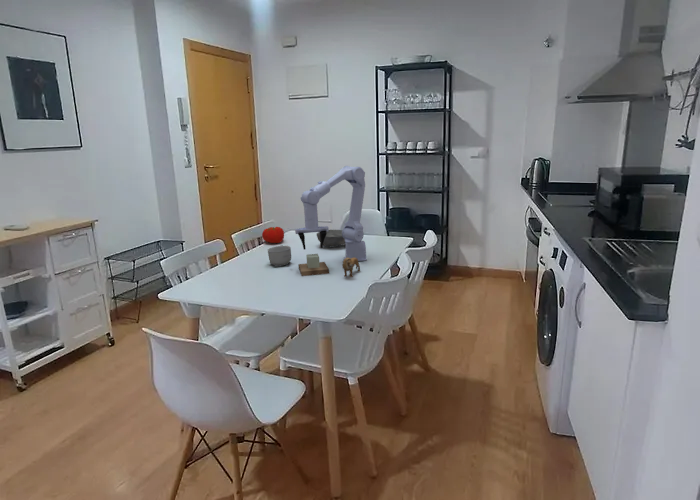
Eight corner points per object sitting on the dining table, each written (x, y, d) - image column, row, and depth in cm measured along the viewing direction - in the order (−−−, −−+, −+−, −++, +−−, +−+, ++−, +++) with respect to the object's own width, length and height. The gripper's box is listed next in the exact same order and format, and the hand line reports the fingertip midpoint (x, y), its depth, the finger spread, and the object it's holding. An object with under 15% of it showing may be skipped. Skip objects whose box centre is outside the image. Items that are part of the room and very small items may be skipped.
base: (324, 265, 211) (324, 261, 211) (329, 273, 200) (329, 269, 200) (298, 268, 209) (298, 264, 209) (301, 276, 198) (301, 271, 197)
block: (318, 264, 207) (317, 253, 206) (319, 267, 202) (319, 256, 201) (307, 265, 206) (306, 254, 205) (308, 268, 201) (307, 257, 200)
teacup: (287, 268, 210) (286, 251, 208) (265, 267, 213) (263, 250, 211) (296, 259, 224) (295, 243, 222) (275, 259, 226) (274, 243, 224)
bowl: (356, 244, 249) (356, 230, 247) (338, 252, 235) (338, 236, 233) (329, 241, 259) (329, 227, 257) (310, 248, 244) (310, 233, 242)
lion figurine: (353, 280, 190) (352, 259, 188) (340, 279, 192) (339, 258, 190) (361, 269, 204) (361, 250, 202) (350, 269, 206) (349, 249, 203)
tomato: (266, 239, 267) (265, 225, 265) (287, 239, 265) (286, 224, 263) (259, 245, 254) (257, 230, 252) (281, 245, 252) (279, 230, 250)
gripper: (325, 215, 206) (327, 244, 210) (293, 217, 203) (295, 247, 207) (328, 218, 199) (330, 248, 203) (295, 220, 196) (297, 251, 200)
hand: (313, 248), depth 204 cm, fingers open, 7 cm apart
